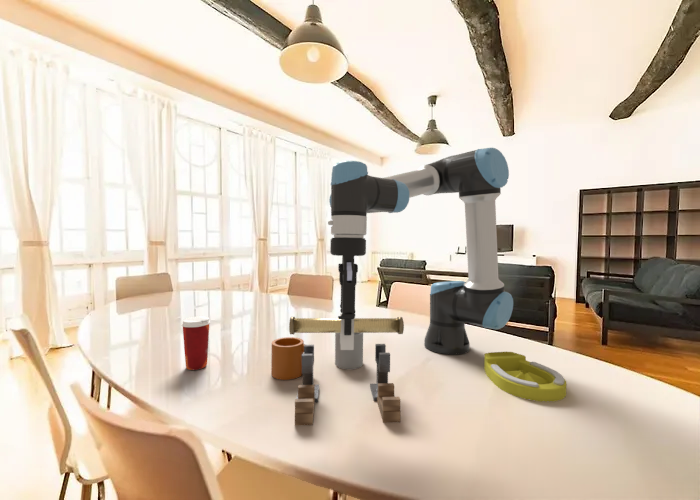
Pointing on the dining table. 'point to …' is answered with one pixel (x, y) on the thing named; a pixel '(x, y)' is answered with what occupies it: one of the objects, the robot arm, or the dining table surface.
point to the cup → (349, 353)
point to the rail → (335, 325)
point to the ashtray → (524, 377)
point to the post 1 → (308, 368)
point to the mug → (287, 358)
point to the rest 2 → (388, 403)
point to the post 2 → (380, 368)
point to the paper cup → (196, 341)
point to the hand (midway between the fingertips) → (346, 346)
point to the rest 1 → (305, 405)
